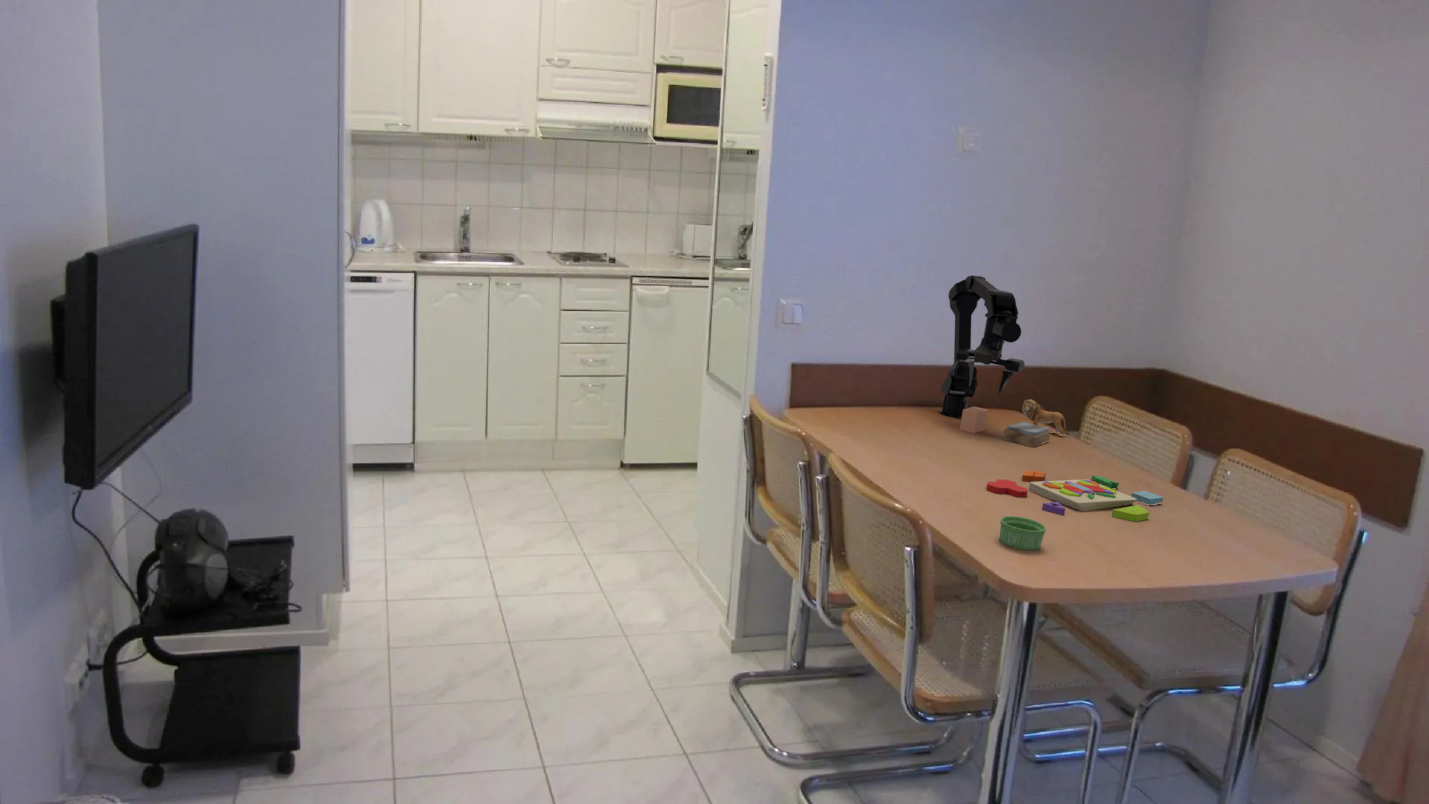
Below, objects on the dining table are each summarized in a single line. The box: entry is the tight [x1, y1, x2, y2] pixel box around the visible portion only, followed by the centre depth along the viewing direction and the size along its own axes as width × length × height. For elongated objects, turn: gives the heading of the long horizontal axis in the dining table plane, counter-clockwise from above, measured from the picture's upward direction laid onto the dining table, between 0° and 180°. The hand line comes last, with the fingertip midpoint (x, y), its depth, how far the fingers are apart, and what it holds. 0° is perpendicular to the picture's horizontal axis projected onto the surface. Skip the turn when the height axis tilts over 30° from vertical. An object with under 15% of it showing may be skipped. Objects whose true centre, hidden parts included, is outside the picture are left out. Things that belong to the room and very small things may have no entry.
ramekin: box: [999, 515, 1047, 551], centre depth 231 cm, size 9×9×4 cm
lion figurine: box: [1021, 398, 1070, 436], centre depth 340 cm, size 15×5×9 cm, turn 71°
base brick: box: [1002, 421, 1051, 448], centre depth 326 cm, size 9×12×4 cm
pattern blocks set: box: [986, 470, 1164, 523], centre depth 272 cm, size 38×34×3 cm
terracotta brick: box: [959, 406, 989, 434], centre depth 332 cm, size 4×8×6 cm, turn 144°
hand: (984, 389), depth 330 cm, fingers open, 9 cm apart
